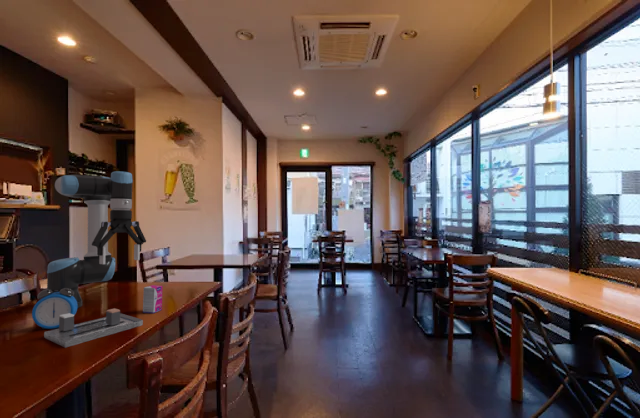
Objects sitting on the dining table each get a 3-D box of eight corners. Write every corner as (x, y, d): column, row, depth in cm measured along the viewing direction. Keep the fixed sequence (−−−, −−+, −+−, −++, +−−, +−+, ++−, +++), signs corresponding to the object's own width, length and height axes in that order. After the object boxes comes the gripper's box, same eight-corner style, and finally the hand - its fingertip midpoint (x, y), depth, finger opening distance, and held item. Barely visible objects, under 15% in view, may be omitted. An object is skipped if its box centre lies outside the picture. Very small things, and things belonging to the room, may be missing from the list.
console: (44, 337, 115) (44, 331, 115) (120, 318, 138) (120, 312, 138) (65, 347, 106) (65, 340, 107) (142, 325, 129) (142, 319, 129)
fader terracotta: (106, 323, 123) (106, 310, 123) (114, 321, 126) (114, 308, 126) (111, 325, 121) (111, 311, 121) (119, 323, 124) (120, 309, 124)
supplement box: (153, 313, 144) (154, 288, 144) (142, 313, 145) (142, 287, 145) (162, 310, 150) (162, 285, 150) (151, 309, 151) (151, 284, 151)
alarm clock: (30, 331, 121) (31, 292, 121) (37, 326, 127) (38, 288, 127) (73, 326, 127) (74, 288, 127) (77, 322, 132) (78, 285, 133)
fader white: (59, 329, 117) (59, 315, 117) (68, 326, 120) (69, 313, 120) (64, 331, 115) (64, 316, 115) (73, 328, 118) (74, 314, 118)
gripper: (92, 208, 118) (91, 266, 118) (155, 210, 140) (154, 258, 139) (81, 209, 122) (80, 265, 121) (144, 210, 144) (144, 257, 143)
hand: (120, 261), depth 130 cm, fingers open, 13 cm apart
